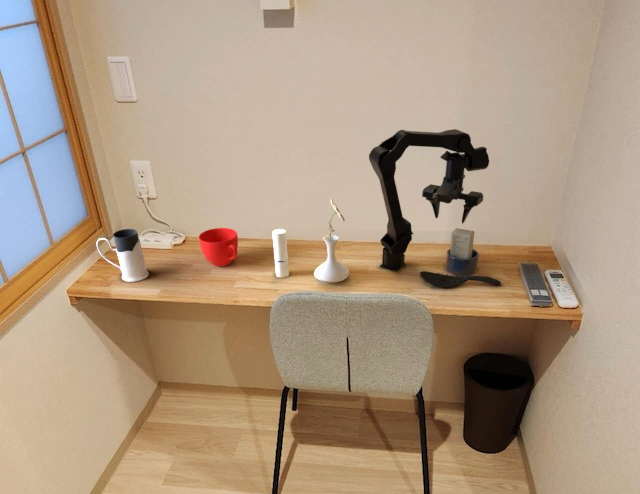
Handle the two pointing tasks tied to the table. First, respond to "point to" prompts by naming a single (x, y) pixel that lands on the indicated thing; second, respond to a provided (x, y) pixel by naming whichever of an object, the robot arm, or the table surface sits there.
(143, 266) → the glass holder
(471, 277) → the hairbrush
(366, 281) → the table surface
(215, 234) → the ceramic cup
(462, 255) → the cosmetic box
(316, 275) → the flower in vase
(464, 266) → the crock
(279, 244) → the tube
